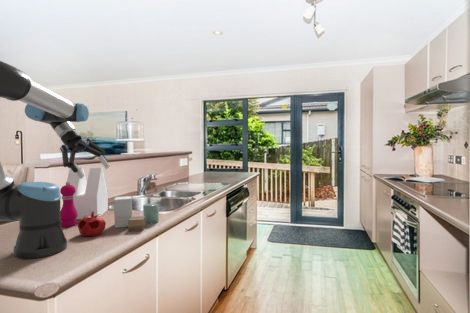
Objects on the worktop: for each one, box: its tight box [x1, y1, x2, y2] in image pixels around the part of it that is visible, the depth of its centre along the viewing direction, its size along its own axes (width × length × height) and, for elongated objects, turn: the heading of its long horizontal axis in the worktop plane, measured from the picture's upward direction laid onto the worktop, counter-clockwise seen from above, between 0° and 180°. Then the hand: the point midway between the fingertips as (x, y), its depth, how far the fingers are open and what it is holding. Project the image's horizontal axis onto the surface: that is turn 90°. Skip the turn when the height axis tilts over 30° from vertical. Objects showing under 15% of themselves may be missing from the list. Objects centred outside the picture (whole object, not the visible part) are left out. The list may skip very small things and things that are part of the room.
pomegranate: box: [77, 212, 107, 237], centre depth 114 cm, size 10×10×9 cm
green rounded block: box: [142, 203, 160, 224], centre depth 133 cm, size 7×7×8 cm
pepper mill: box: [59, 181, 78, 228], centre depth 128 cm, size 7×7×20 cm
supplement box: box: [113, 195, 133, 229], centre depth 128 cm, size 7×7×13 cm
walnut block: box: [127, 215, 147, 232], centre depth 122 cm, size 6×6×5 cm
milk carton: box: [66, 166, 109, 220], centre depth 148 cm, size 19×15×25 cm
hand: (96, 172), depth 126 cm, fingers open, 13 cm apart
